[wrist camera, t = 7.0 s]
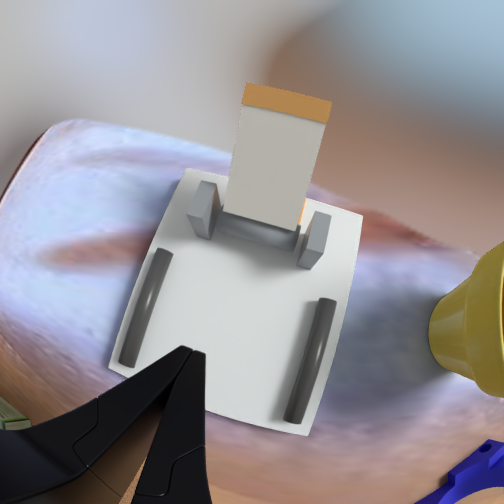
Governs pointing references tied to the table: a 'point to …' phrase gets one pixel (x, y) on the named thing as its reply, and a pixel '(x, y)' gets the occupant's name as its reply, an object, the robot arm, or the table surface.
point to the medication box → (12, 417)
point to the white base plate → (243, 306)
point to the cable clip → (472, 475)
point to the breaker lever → (272, 165)
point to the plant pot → (473, 325)
